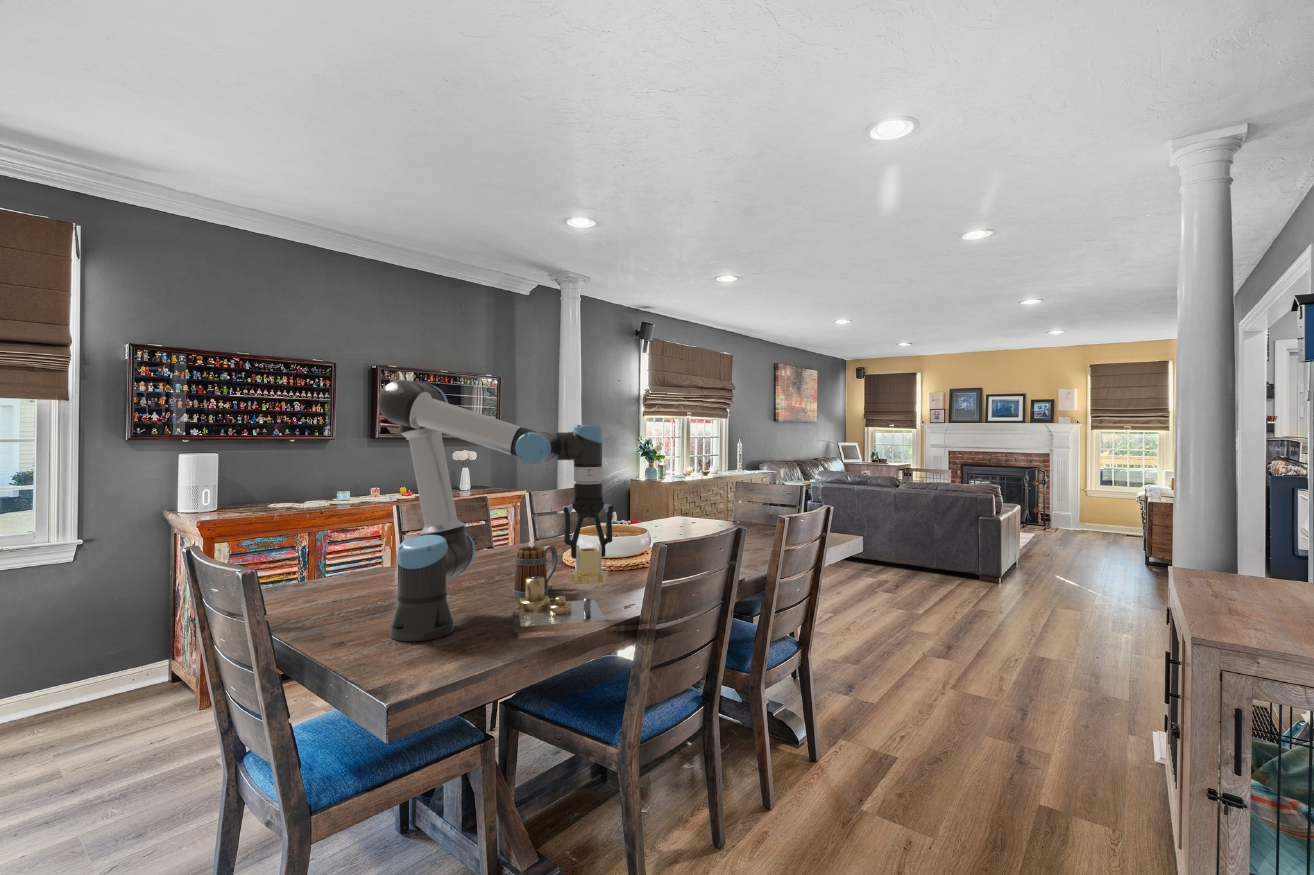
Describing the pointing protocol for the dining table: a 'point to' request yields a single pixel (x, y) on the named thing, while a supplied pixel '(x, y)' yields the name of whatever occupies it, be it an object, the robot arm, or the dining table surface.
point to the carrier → (553, 607)
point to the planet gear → (588, 568)
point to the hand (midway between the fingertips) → (588, 569)
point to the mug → (533, 567)
